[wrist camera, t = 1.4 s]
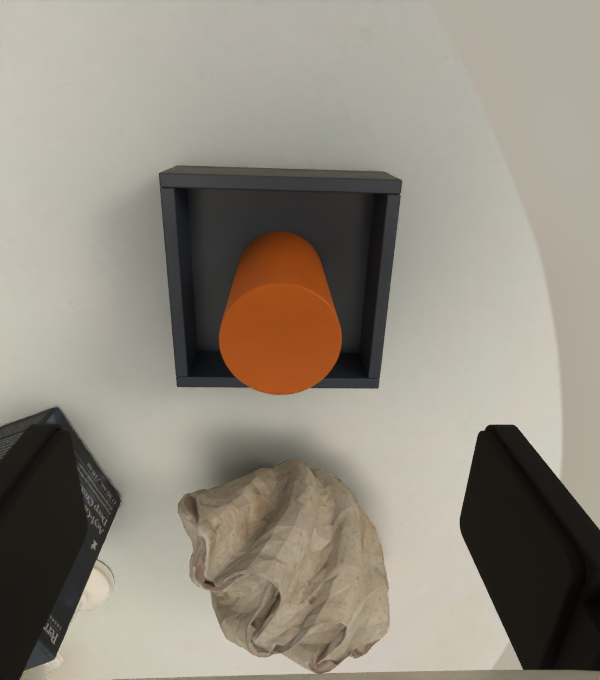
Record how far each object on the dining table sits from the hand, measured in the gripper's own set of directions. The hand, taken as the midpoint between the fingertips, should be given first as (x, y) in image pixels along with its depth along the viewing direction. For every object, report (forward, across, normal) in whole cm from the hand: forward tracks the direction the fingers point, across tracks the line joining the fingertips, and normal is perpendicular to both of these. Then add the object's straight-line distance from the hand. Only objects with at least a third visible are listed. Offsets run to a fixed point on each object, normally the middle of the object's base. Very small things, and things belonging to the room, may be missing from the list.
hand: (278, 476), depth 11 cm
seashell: (+16, -1, +16) cm, 23 cm away
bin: (+16, 0, 0) cm, 16 cm away
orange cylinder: (+15, 0, 0) cm, 15 cm away
